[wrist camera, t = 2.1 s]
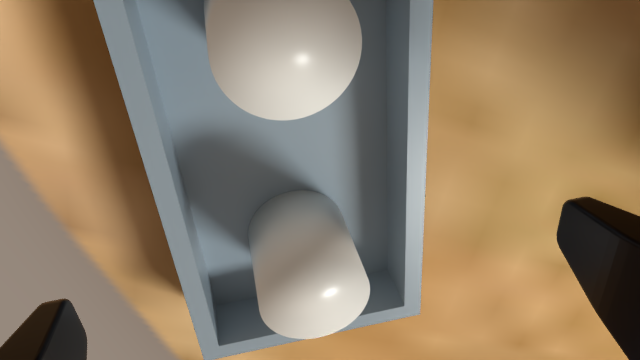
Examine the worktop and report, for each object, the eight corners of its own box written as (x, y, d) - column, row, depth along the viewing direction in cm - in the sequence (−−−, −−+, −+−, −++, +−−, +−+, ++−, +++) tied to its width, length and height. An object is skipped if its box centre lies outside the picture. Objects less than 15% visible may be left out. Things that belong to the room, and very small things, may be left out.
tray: (396, 265, 18) (435, 345, 15) (202, 305, 17) (205, 397, 14) (399, -154, 11) (469, -150, 8) (81, -122, 10) (41, -106, 8)
